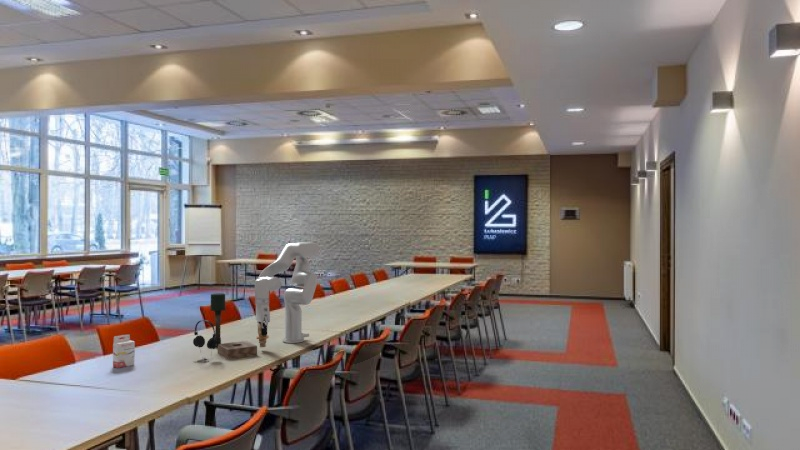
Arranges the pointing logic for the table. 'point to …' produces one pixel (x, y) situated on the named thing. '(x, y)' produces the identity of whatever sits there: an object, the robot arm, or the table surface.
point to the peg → (261, 338)
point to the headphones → (200, 340)
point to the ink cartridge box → (123, 351)
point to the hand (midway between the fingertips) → (262, 334)
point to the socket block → (237, 349)
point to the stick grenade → (218, 311)
